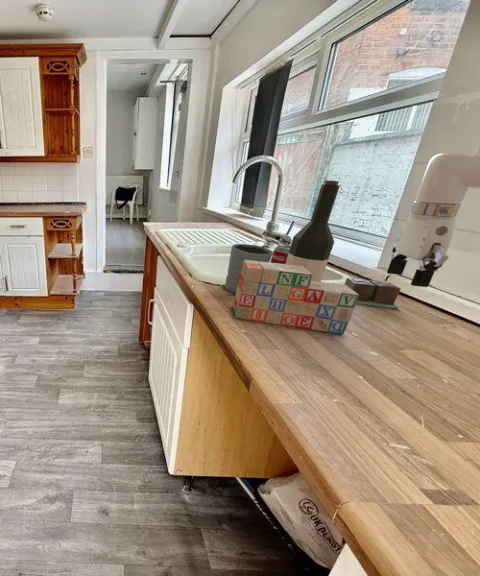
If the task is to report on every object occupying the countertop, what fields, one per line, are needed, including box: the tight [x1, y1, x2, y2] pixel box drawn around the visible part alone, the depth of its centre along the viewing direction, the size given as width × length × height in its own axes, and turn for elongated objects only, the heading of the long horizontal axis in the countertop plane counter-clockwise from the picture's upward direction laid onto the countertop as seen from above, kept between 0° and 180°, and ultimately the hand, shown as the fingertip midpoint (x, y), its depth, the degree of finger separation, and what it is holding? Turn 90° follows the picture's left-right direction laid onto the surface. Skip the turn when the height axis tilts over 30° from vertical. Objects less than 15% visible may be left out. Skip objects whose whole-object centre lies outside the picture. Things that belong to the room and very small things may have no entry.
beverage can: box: [269, 245, 291, 264], centre depth 87 cm, size 6×6×12 cm
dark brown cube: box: [343, 277, 375, 301], centre depth 83 cm, size 5×5×5 cm
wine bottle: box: [286, 180, 341, 282], centre depth 74 cm, size 8×8×30 cm
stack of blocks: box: [232, 260, 359, 335], centre depth 67 cm, size 21×6×12 cm, turn 73°
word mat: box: [356, 300, 399, 310], centre depth 83 cm, size 11×7×1 cm, turn 75°
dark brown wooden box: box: [369, 280, 402, 305], centre depth 82 cm, size 5×5×5 cm
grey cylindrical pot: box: [224, 243, 273, 294], centre depth 84 cm, size 10×10×12 cm
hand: (405, 279), depth 78 cm, fingers open, 9 cm apart
